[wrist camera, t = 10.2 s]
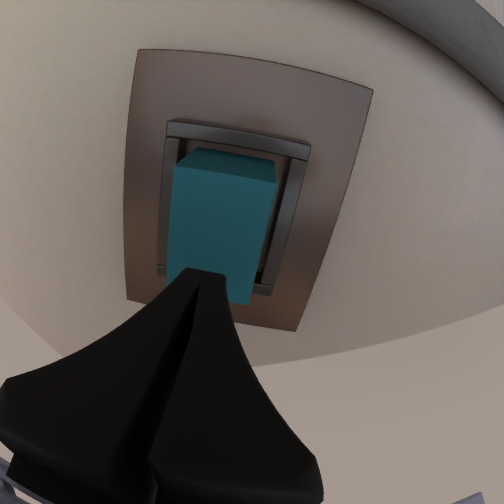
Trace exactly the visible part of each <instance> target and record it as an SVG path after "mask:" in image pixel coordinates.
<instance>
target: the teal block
mask: <svg viewBox="0 0 504 504" xmlns="http://www.w3.org/2000/svg"><path fill="white" fill-rule="evenodd" d="M276 187H277V180H276V171H275V163H274V161H272V160H267V159H262V158H257V157H252V156H247V155H241V154H236V153H230V152H224V151H218V150H212V149H206V148H199V147H196V148H195V149H194V150H193V151H191V152H190V153H189V154H188V155H187V156H185V157H184V158H183V159H182V160H181V161H179V162H178V163H177V164H176V165H175V166H174V172H173V182H172V193H171V204H170V217H169V232H168V249H167V272H166V287H167V286H168V285H169V284H170V283H171V282H172V281H173V280H174V279H175V278H176V277H177V276H178V275H179V273H180V272H181V271H182V270H183V269H185V268H186V267H189V268H194V269H199V270H204V271H210V272H215V273H220V274H224V275H225V276H226V278H227V280H226V287H227V296H228V302H233V303H238V304H244V305H248V304H249V301H250V297H251V292H252V288H253V284H254V280H255V276H256V272H257V268H258V263H259V259H260V255H261V251H262V247H263V242H264V238H265V234H266V230H267V225H268V221H269V217H270V213H271V208H272V204H273V200H274V196H275V191H276Z"/></svg>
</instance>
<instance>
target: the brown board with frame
mask: <svg viewBox="0 0 504 504" xmlns="http://www.w3.org/2000/svg"><path fill="white" fill-rule="evenodd" d="M372 95H373V89H370V88H368V87H365V86H362V85H359V84H356V83H353V82H350V81H346V80H343V79H340V78H337V77H333V76H330V75H326V74H323V73H319V72H315V71H311V70H307V69H303V68H299V67H295V66H290V65H286V64H281V63H276V62H271V61H266V60H261V59H255V58H249V57H242V56H235V55H228V54H220V53H210V52H200V51H187V50H167V49H139V50H138V52H137V58H136V64H135V70H134V76H133V83H132V90H131V98H130V106H129V115H128V125H127V137H126V150H125V168H124V199H123V229H124V261H125V279H126V292H127V300H131V301H135V302H139V303H143V304H148V303H149V302H150V301H151V300H153V299H154V298H155V297H156V296H157V295H158V294H159V293H160V292H161V291H162V290H164V289H165V288H166V272H167V249H168V232H169V217H170V204H171V193H172V182H173V172H174V166H175V165H176V164H177V163H178V162H179V161H181V160H182V159H183V158H184V157H185V156H187V155H188V154H189V153H190V152H191V151H193V150H194V149H195V148H196V147H199V148H206V149H212V150H218V151H224V152H230V153H236V154H241V155H247V156H252V157H257V158H262V159H267V160H272V161H274V163H275V171H276V180H277V187H276V191H275V196H274V200H273V204H272V208H271V213H270V217H269V221H268V225H267V230H266V234H265V238H264V242H263V247H262V251H261V255H260V259H259V263H258V268H257V272H256V276H255V280H254V284H253V288H252V292H251V297H250V301H249V304H248V305H244V304H238V303H233V302H229V306H230V311H231V314H232V318H233V322H236V323H242V324H247V325H253V326H259V327H266V328H272V329H279V330H285V331H292V332H296V330H297V327H298V325H299V322H300V320H301V317H302V315H303V312H304V310H305V307H306V305H307V302H308V299H309V297H310V294H311V291H312V289H313V286H314V283H315V281H316V278H317V275H318V273H319V270H320V267H321V264H322V261H323V259H324V256H325V253H326V250H327V247H328V244H329V241H330V238H331V236H332V233H333V230H334V227H335V224H336V221H337V217H338V214H339V211H340V208H341V205H342V202H343V199H344V196H345V192H346V189H347V186H348V183H349V179H350V176H351V173H352V169H353V166H354V162H355V159H356V155H357V152H358V148H359V145H360V141H361V137H362V134H363V130H364V126H365V122H366V119H367V115H368V111H369V107H370V103H371V99H372Z"/></svg>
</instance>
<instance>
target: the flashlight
mask: <svg viewBox="0 0 504 504" xmlns="http://www.w3.org/2000/svg"><path fill="white" fill-rule="evenodd" d="M357 1H359V2H361V3H363V4H365V5H367V6H369V7H371V8H373V9H375V10H377V11H379V12H381V13H383V14H385V15H386V16H388V17H390V18H392V19H394V20H395V21H397V22H399V23H400V24H402V25H404V26H406V27H407V28H409V29H410V30H412V31H414V32H415V33H417V34H418V35H420V36H421V37H423V38H424V39H426V40H427V41H429V42H430V43H432V44H433V45H435V46H436V47H438V48H439V49H440V50H442V51H443V52H444V53H446V54H447V55H448V56H450V57H451V58H452V59H454V60H455V61H456V62H458V63H459V64H460V65H461V66H463V67H464V68H465V69H466V70H467V71H469V72H470V73H471V74H472V75H473V76H475V77H476V78H477V79H478V80H479V81H480V82H481V83H483V84H484V85H485V86H486V87H487V88H488V89H489V90H490V91H491V92H492V93H493V94H494V95H496V96H497V97H498V98H499V99H500V100H501V101H502V102H503V103H504V27H503V26H502V25H501V24H500V23H499V22H498V21H497V20H496V19H495V18H494V17H493V16H492V15H491V14H489V13H488V12H487V11H486V10H485V9H484V8H483V7H482V6H480V5H479V4H478V3H477V2H476V1H474V0H357Z"/></svg>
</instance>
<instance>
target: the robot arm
mask: <svg viewBox="0 0 504 504" xmlns="http://www.w3.org/2000/svg"><path fill="white" fill-rule="evenodd" d="M226 280H227V278H226V276H225V275H224V274H220V273H215V272H210V271H204V270H199V269H194V268H189V267H186V268H185V269H183V270H182V271H181V272H180V273H179V275H178V276H177V277H176V278H175V279H174V280H173V281H172V282H171V283H170V284H169V285H168V286H167V287H166V288H165V289H164V290H162V291H161V292H160V293H159V294H158V295H157V296H156V297H155V298H154V299H153V300H151V301H150V302H149V303H148V304H147V305H146V306H144V307H143V308H142V309H141V310H139V311H138V312H137V313H136V314H135V315H133V316H132V317H131V318H130V319H128V320H127V321H125V322H124V323H123V324H121V325H120V326H119V327H117V328H116V329H114V330H113V331H111V332H110V333H108V334H107V335H105V336H103V337H102V338H100V339H98V340H97V341H95V342H93V343H92V344H90V345H88V346H87V347H85V348H83V349H81V350H79V351H77V352H75V353H73V354H71V355H69V356H67V357H64V358H62V359H60V360H58V361H56V362H54V363H51V364H49V365H46V366H44V367H41V368H38V369H36V370H33V371H29V372H26V373H23V374H20V375H17V376H14V377H11V378H7V379H6V380H5V382H4V383H3V385H2V386H1V388H0V441H1V442H2V443H3V444H4V445H5V446H6V447H7V448H8V449H9V450H11V451H12V452H13V453H14V455H13V458H12V460H11V462H10V463H9V462H7V461H6V460H4V459H3V458H1V457H0V504H30V503H28V502H26V501H24V500H22V499H21V498H19V497H17V496H16V494H15V491H14V489H13V487H15V488H17V489H18V490H20V491H21V492H23V493H25V494H26V495H28V496H30V497H32V498H33V499H35V500H37V501H39V502H41V503H42V504H320V503H321V502H322V501H323V495H324V492H323V483H322V479H321V474H320V470H319V467H318V464H317V461H316V458H315V456H314V455H313V454H312V453H311V452H310V450H308V448H307V447H306V446H305V445H304V444H303V443H302V442H301V440H300V439H299V438H298V437H297V436H296V434H295V433H294V432H293V431H292V430H291V429H290V427H289V426H288V425H287V423H286V422H285V420H284V419H283V418H282V416H281V415H280V414H279V412H278V411H277V410H276V408H275V406H274V405H273V403H272V402H271V400H270V399H269V397H268V396H267V394H266V392H265V391H264V389H263V388H262V386H261V384H260V383H259V381H258V379H257V377H256V375H255V373H254V371H253V369H252V367H251V365H250V363H249V361H248V359H247V357H246V355H245V352H244V350H243V347H242V345H241V342H240V340H239V337H238V334H237V331H236V328H235V325H234V322H233V318H232V314H231V311H230V306H229V302H228V296H227V287H226ZM11 485H12V486H13V487H12V486H11ZM453 504H484V500H483V496H482V493H481V492H478V493H476V494H474V495H471V496H469V497H467V498H465V499H462V500H460V501H458V502H455V503H453Z"/></svg>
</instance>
